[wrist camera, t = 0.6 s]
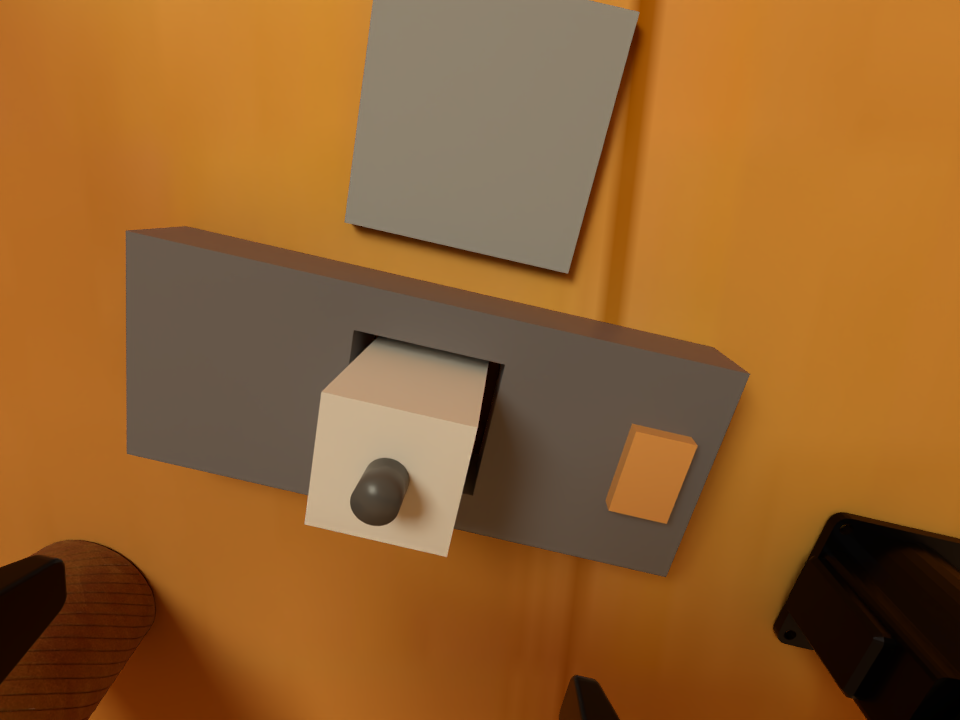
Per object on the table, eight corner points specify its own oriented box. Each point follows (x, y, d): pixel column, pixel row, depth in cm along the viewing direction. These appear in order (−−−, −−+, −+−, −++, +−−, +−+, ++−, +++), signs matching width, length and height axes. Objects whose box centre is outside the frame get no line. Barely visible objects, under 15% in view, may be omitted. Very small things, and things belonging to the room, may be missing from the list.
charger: (490, 349, 19) (473, 450, 11) (469, 440, 20) (440, 589, 13) (389, 325, 19) (301, 410, 11) (373, 418, 20) (284, 553, 13)
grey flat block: (713, 347, 18) (759, 380, 15) (645, 526, 21) (671, 588, 18) (186, 226, 18) (111, 231, 15) (179, 419, 21) (114, 461, 17)
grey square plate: (634, 18, 16) (639, 12, 15) (566, 271, 18) (568, 273, 17) (384, -39, 16) (379, -48, 15) (350, 221, 18) (344, 222, 17)
